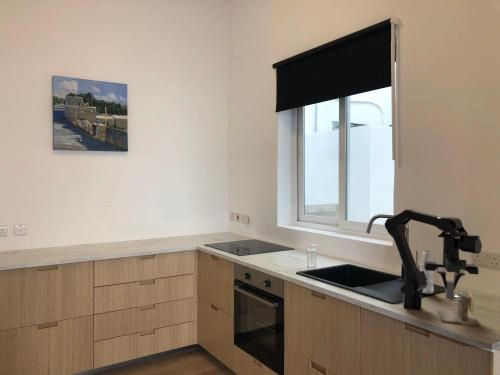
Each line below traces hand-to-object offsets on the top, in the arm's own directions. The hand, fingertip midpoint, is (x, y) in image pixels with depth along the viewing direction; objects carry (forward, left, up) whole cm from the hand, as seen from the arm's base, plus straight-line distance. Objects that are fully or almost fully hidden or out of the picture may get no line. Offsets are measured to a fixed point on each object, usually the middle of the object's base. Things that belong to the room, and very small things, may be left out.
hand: (449, 289), depth 161 cm
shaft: (+4, 0, -5) cm, 6 cm away
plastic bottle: (-5, +33, -12) cm, 35 cm away
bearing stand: (+3, 0, -12) cm, 12 cm away
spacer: (+7, 0, -7) cm, 10 cm away
